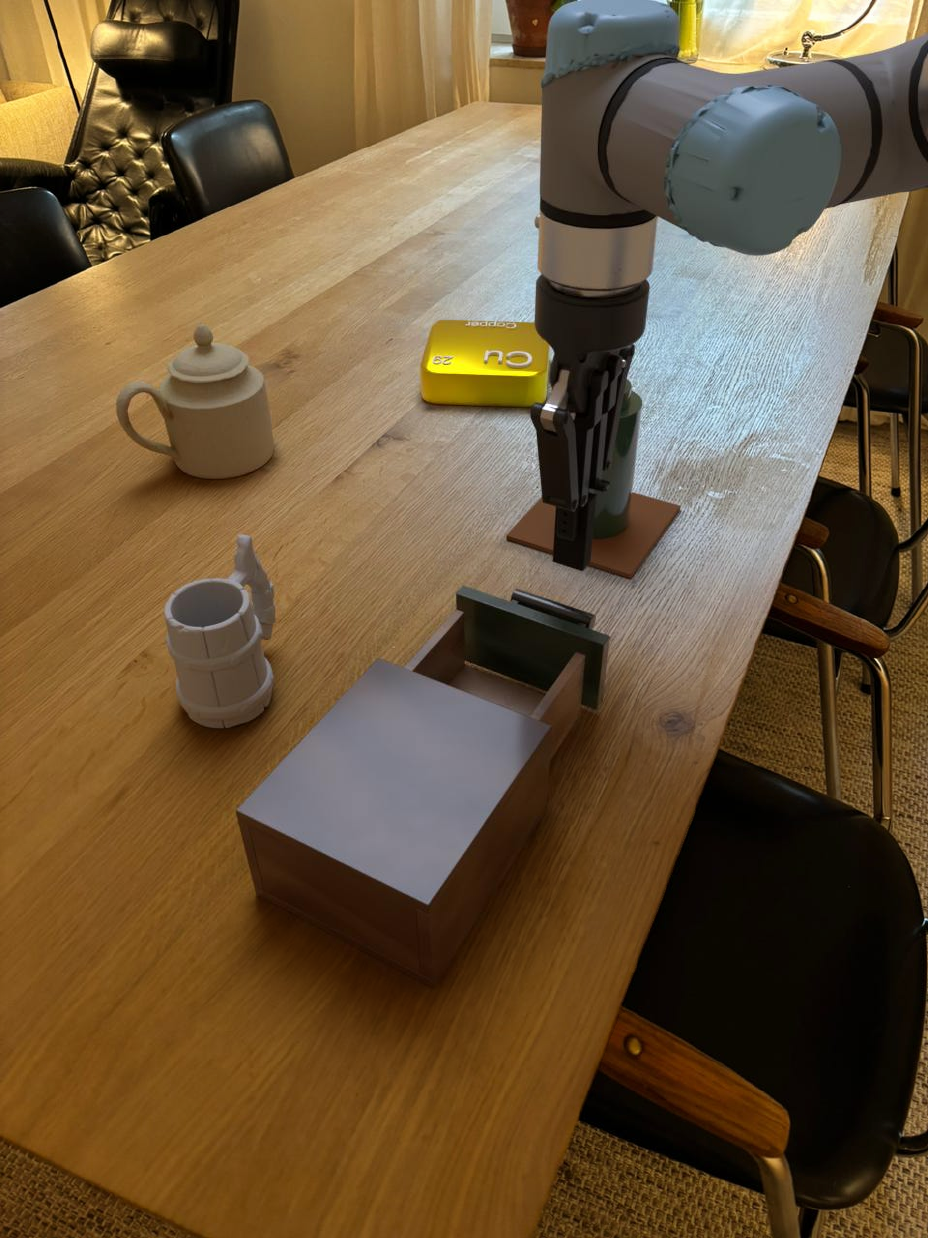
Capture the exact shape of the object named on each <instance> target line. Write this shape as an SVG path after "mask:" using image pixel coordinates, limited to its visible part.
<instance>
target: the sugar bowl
mask: <svg viewBox="0 0 928 1238" xmlns="http://www.w3.org/2000/svg"><path fill="white" fill-rule="evenodd" d="M192 337H193V340H194V343H195V344H194V345H190V346H188V347H186V348H184V349H182V350H181V351H180V352H179V353H178V354H177V355H176V356H174V357H173V358H172V359H171V360H170V361H169V362H168V364H167V366H166V369H167V371H168V374H169V375H167V376H166V377H165V378H164V379H162V382H161V383H160V385H159V387H158V389H157V388H156V387H155V386H154V385H152V384H150V383H149V382H146V381H143V380H142V381H141V380H139V381H138V380H137V381H131V382H130V383H127V384H125V385H124V387H122V388H121V389H120V391H119V393H118V395H117V398H116V403H115V411H116V412H115V413H116V416H117V420H118V422H119V424H120V427H121V429H123V431H124V432H125V434H126V435H127V436H128V438H130V439H131V440H132V441H133V442H134V443H136V444H137V445H139V446H141V447H142V448H144V449H146V450H148V451H151V452H153V453H156V454H160V455H161V454H162V455H165V456H169V457H170V458H172V459H173V460H174V463H175V465H176V466H177V468H178V469H180V470H181V471H182V472H184V473H185V474H187V475H189V476H192V477H196V478H200V479H208V480H223V479H232V478H237V477H241V476H244V475H246V474H249V473H251V472H254V471H256V470H258V469H260V468H262V467H263V466H264V465H266V464H267V463H268V462H269V461H270V460H271V458H272V457H273V454H274V452H275V442H274V434H273V428H272V427H273V426H272V420H271V411H270V404H269V399H268V393H267V387H266V382H265V378H264V377H265V376H264V375H263V373H262V372H261V371H260V370H259V369H258V368H256V367H254V366H252V365H250V364H249V363H250V358H249V355H248V354H247V353H245V352H244V351H243V350H241V349H239V348H237V347H234V346H231V345H229V344H226V343H221V342H213V340H214V335H213V333H212V330H211V329H210V328H209V326H207V325H206V324H204V323H201V322H200V323H199V324H197V326H196V327H195V328H194V331H193V336H192ZM141 393H145V394H147V395H150V396H151V398H152V400H153V401H154V403H155V405H156V407H157V409H158V411H159V413H160V414H161V417H162V418H163V420H164V425H165V430H166V432H167V436H168V440H169V445H170V446H169V445H166V444H164V443H161V442H157V441H154V440H151V439H149V438H146V437H145V436H143V435H141V434H139V432H137V431H136V430H135V428H134V427H133V425H132V423H131V421H130V416H129V408H130V404H131V401H132V399H133V398H134V397H135V396H137V395H138V394H141Z"/></svg>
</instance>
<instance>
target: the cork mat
mask: <svg viewBox="0 0 928 1238" xmlns="http://www.w3.org/2000/svg"><path fill="white" fill-rule="evenodd" d="M680 510H681V505H679V504H676V503H673V502H669V501H665V500H662V499H659V498H654V497H651V496H647V495H644V494H640V493H637V492H633V491H632V499H631V508H630V516H629V524H628V526H627V528H626V529H625V530H624V531H623V532H622V533H620V534H619V535H616V536H614V537H610V538H604V539H593V540H592V550H591V561H590V563H589V564H588V566H590V567H593V568H596V569H599V570H602V571H605V572H609V573H612V574H614V575H618V576H621V577H624V578H627V579H632V578H633V576H634V575H635V573H636V572H637V570H638V569H639V568H640V566H641V565H642V564H643V562H644V561H645V559H646V558H647V556H648V555H649V554H650V553H651V552H652V549H653V548H654V547H655V546H656V544H657V542H658V541H659V540H660V538H661V537H662V535H663V534H664V533H665V531H666V530H667V528H668V527H669V526H670V524H671V523H672V521H673V520H674V519H675V517H676V516H677V514H678V513H679V512H680ZM555 513H556V507H555V506H552V505H549V504H546V503H543V501H542V496H541V497H540V498H539V499H538V500H537V501H536V502H535V504H533V505H532V507H530V509H529V510H528V511H527V512H526V513H525V514H524V516H522V518H520V520H519V521H518V522H517V523H516V524H515V525H514V527H513V528H511V530H510V531H509V532H508V533H507V534H506V538H505V539H506V540H507V541H510V542H514V543H517V544H520V545H523V546H526V547H529V548H533V549H536V550H539V551H542V552H545V553H548V554H552V555H553V546H554V529H555Z"/></svg>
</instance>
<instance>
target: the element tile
mask: <svg viewBox="0 0 928 1238" xmlns="http://www.w3.org/2000/svg"><path fill="white" fill-rule="evenodd" d="M534 322H535V321H533V322H532V321H505V320H503V321H501V320H499V321H498V320H471V319H470V320H468V319H439V320H437V321H436V322H435V323H433V324H432V325H431V326H430V327H431V328H430V331H429V334H428V337H427V341H426V345H425V347H424V350H423V355H422V358H421V360H420V361H421V362H420V365H419V374H420V375H419V376H420V377H419V378H420V394H421V398H422V399H423V400H424V401H425V402H427V403H429V404H434V405H451V406H475V407H477V406H478V407H501V408H503V407H505V408H506V407H507V408H532V406H533V404H534V403H535V402H538V403H541V404H545V403H546V401H547V396H548V382H549V371H550V352H551V346H550V345H549V344H548V343H547V342H546V341H545V340H544V339H542V338H541V337H540V336H539V334H538V333H537V331H536V329H535V324H534Z"/></svg>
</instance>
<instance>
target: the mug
mask: <svg viewBox="0 0 928 1238" xmlns="http://www.w3.org/2000/svg"><path fill="white" fill-rule="evenodd" d="M236 544H237V548H236V552H235V553H234V557H233V560H234V561H233V563H234V569H233V572H232V573H231V574H230V575H229V576H228V577H227V578H217V577H215V578H209V577H208V578H203V579H202V578H201V579H199V580H196V581H192V582H189V583H187V584H185V585H182V586H181V587H179V588H177V589H176V590H175V591H174V592H173V593H172V594H170V596H169V598H168V600H167V602H166V603H165V605H164V609H163V616H164V620H165V625H166V630H167V634H166V636H165V644H166V647H167V651H168V653H169V656H170V657H171V659H172V660H173V663H174V667H175V675H176V677H177V678H176V680H175V683H174V685H175V693H176V697H177V701H178V703H179V704H180V706H181V707H182V709H183V710H184V711H185V712H186V713H187V715H188V717H189V718H190V720H192V721H193V722H195V723H197V724H198V725H201V726H203V727H206V728H211V729H229V728H232V727H235V726H239V725H241V724H246V723H248V722H250V721H252V720H255V719H257V717H259V716H260V715H261V714H262V713H263V712H264V711H265V708H267V707H268V706H269V704H270V702H271V699H272V693H273V692H272V691H273V688H274V683H275V676H274V672H273V668H272V666H271V664H270V662H269V660H268V659H267V658H266V657H265V653H264V650H263V649H264V648H263V645H262V640H263V641H269V640H271V638H272V634H273V625H274V624H275V623H276V604H275V602H274V599H275V588H274V584H273V582H271V581H270V579H269V578H268V574H267V572H266V571H265V570H264V568H263V565H262V564H261V562H260V559H259V558H258V557H259V556H258V555H256V552H255V549H254V546H253V539H252V535H248V534H238V535H237V537H236ZM246 585H247V586H248V587H249V588H250V594H249V591H248V590H247V589H246V588H245V586H246Z"/></svg>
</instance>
